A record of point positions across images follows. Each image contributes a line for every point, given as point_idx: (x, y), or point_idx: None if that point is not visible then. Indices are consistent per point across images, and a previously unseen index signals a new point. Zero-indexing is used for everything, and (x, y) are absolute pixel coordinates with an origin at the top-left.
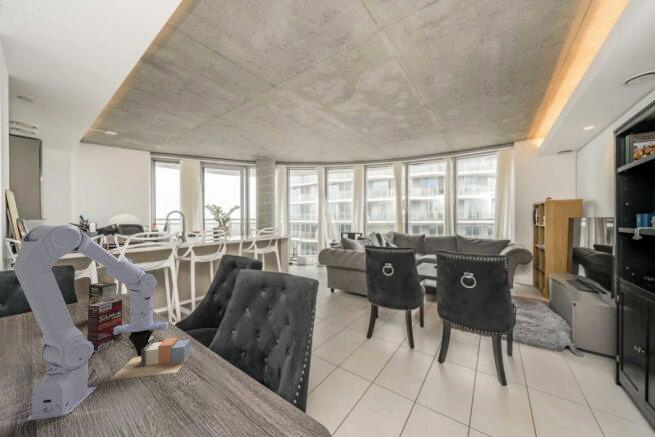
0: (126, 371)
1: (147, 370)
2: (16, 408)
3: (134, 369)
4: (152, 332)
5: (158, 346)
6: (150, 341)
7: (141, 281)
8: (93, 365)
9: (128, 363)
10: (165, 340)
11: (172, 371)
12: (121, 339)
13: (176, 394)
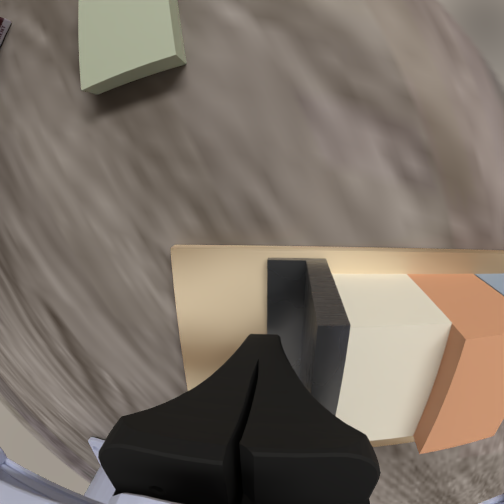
0: None
1: None
2: (49, 443)
3: None
4: (350, 427)
5: (418, 450)
6: (328, 391)
7: None
8: (21, 268)
9: (190, 329)
10: (464, 376)
11: None
12: (3, 20)
13: (455, 485)
